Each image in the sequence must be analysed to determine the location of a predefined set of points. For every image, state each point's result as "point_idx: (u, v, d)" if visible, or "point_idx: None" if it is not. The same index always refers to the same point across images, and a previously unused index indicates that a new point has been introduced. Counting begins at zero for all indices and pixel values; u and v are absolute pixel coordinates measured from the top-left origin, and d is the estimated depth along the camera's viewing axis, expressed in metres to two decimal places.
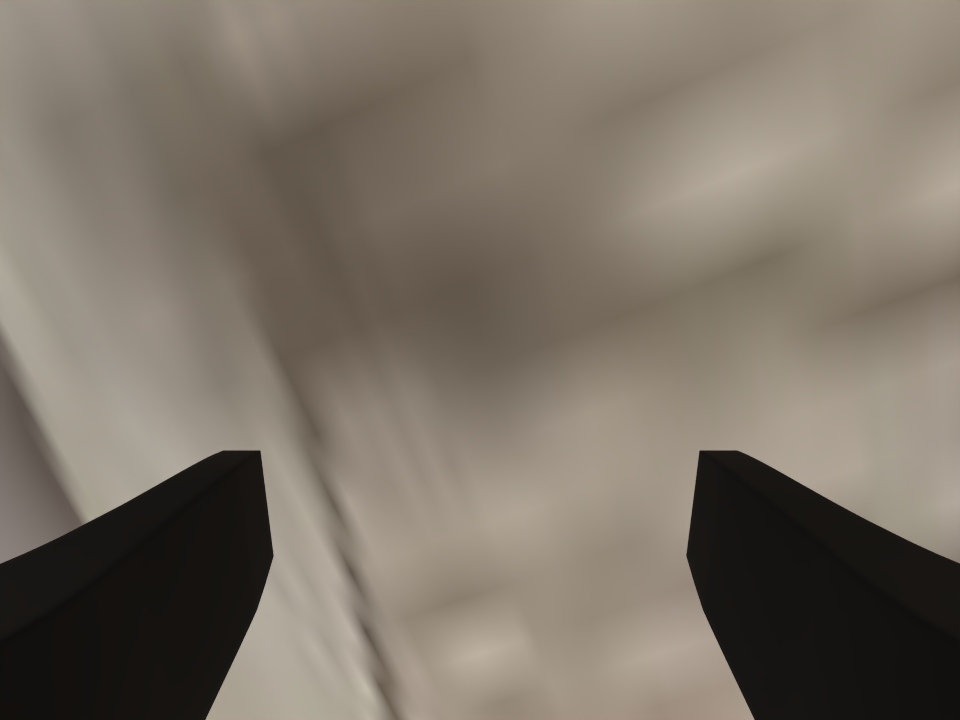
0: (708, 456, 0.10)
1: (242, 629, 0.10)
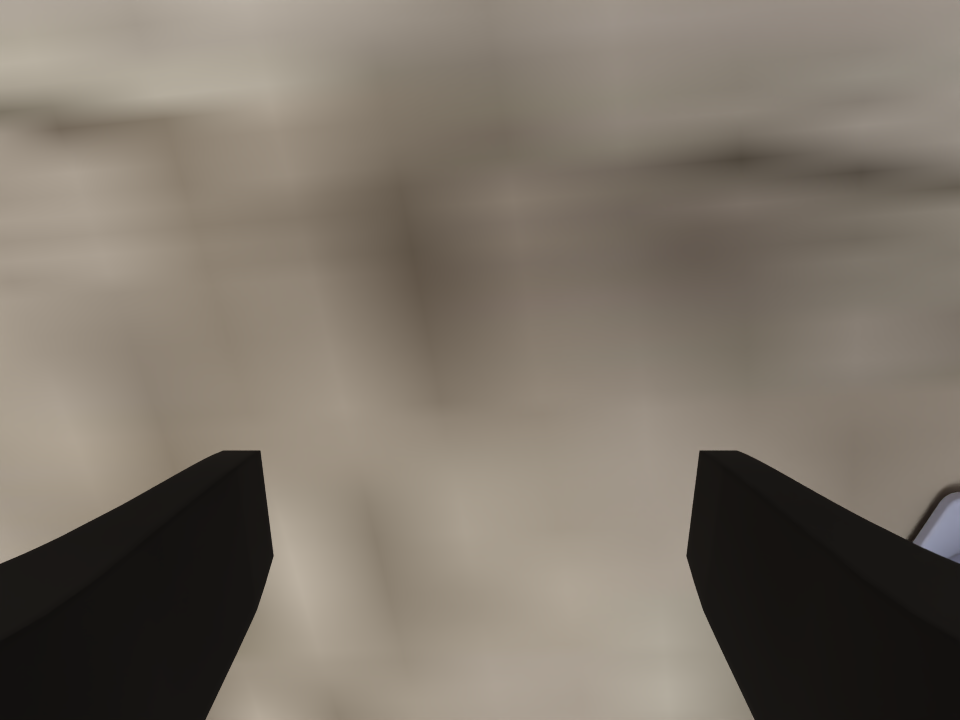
0: (708, 456, 0.10)
1: (242, 629, 0.10)
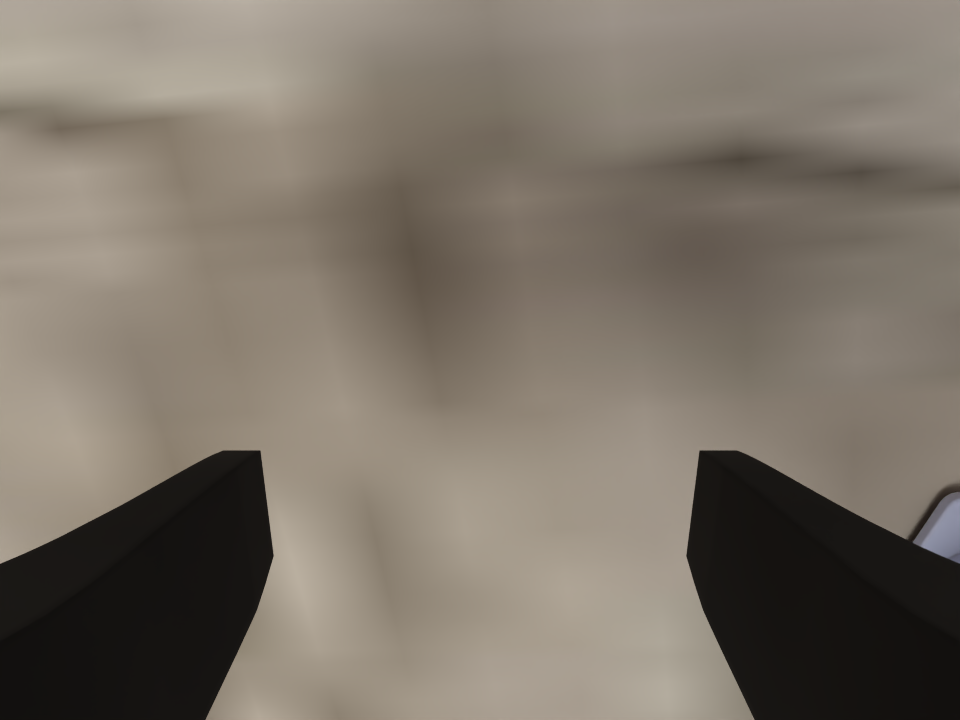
0: (708, 456, 0.10)
1: (242, 629, 0.10)
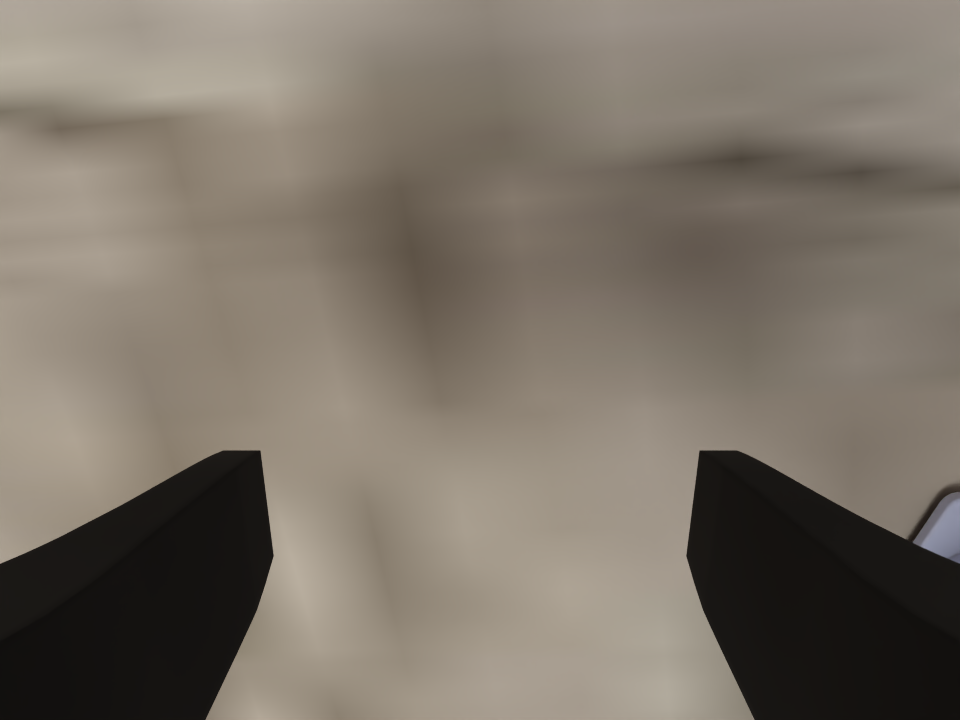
0: (708, 456, 0.10)
1: (242, 629, 0.10)
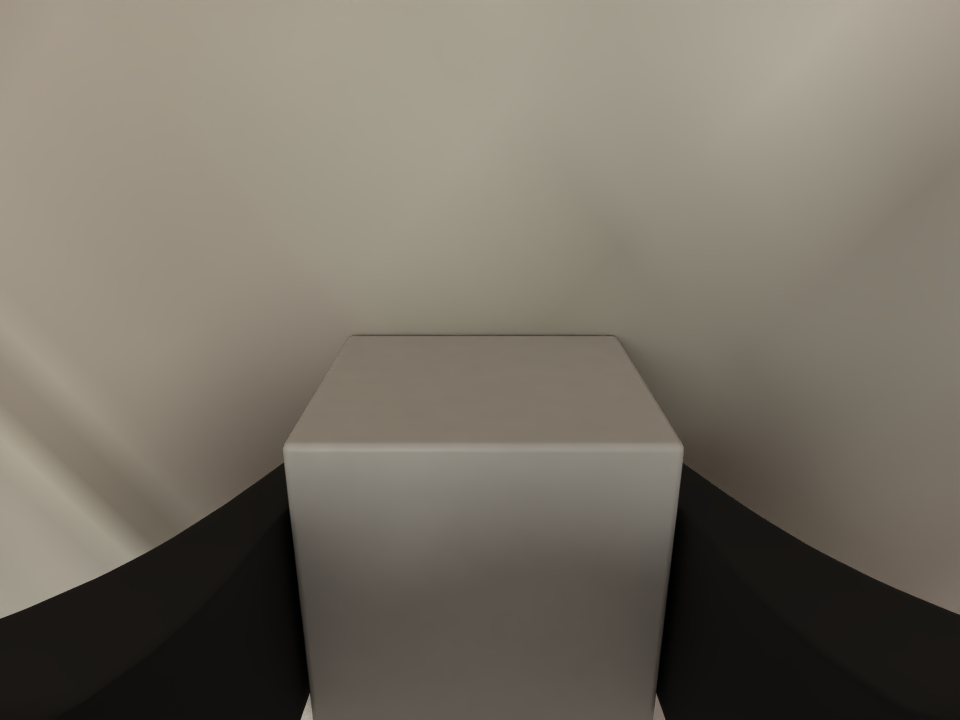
0: None
1: None
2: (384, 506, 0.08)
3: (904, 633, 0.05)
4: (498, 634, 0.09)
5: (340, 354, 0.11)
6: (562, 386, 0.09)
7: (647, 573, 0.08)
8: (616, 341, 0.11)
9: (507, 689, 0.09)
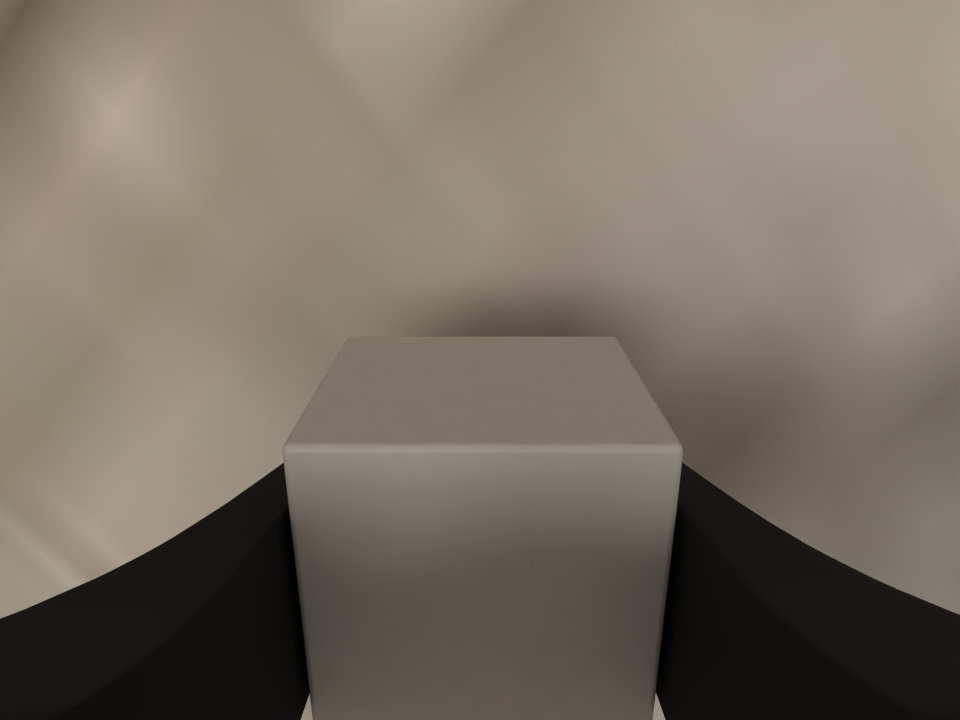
0: None
1: None
2: (384, 506, 0.08)
3: (903, 633, 0.05)
4: (497, 636, 0.09)
5: (340, 355, 0.11)
6: (562, 387, 0.09)
7: (647, 574, 0.08)
8: (616, 342, 0.11)
9: (507, 690, 0.09)
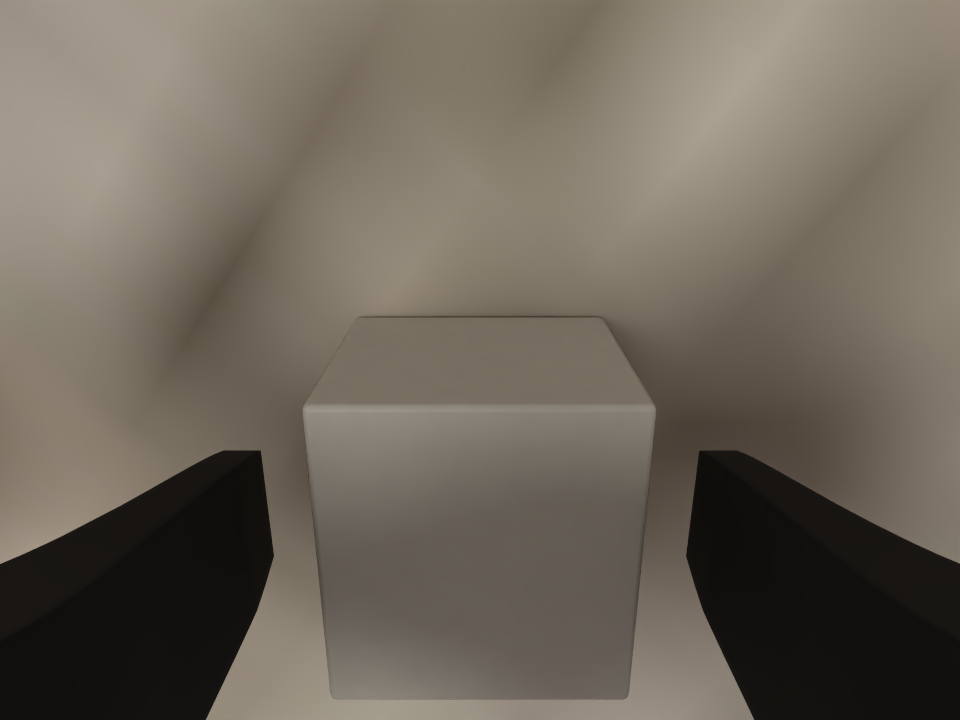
0: (708, 456, 0.10)
1: (242, 629, 0.10)
2: (392, 461, 0.09)
3: None
4: (492, 579, 0.10)
5: (350, 332, 0.12)
6: (550, 360, 0.10)
7: (625, 522, 0.09)
8: (602, 321, 0.12)
9: (501, 629, 0.10)
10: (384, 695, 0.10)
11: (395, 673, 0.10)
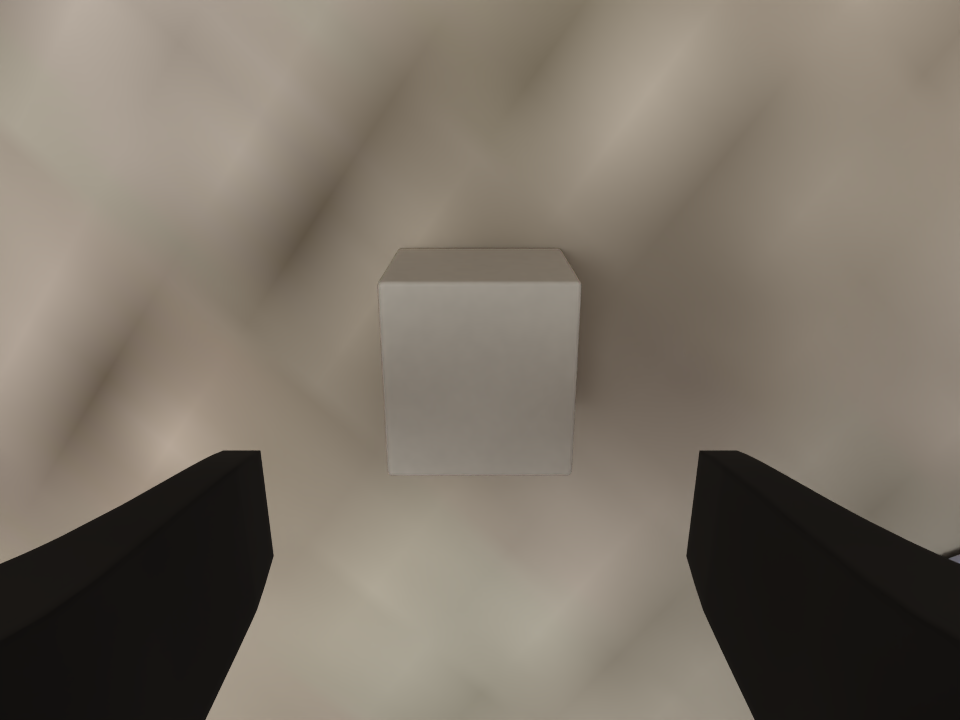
0: (708, 456, 0.10)
1: (242, 629, 0.10)
2: (429, 316, 0.15)
3: None
4: (487, 392, 0.16)
5: (396, 255, 0.18)
6: (523, 265, 0.17)
7: (565, 354, 0.16)
8: (559, 250, 0.19)
9: (492, 425, 0.16)
10: (421, 471, 0.17)
11: (428, 456, 0.17)
